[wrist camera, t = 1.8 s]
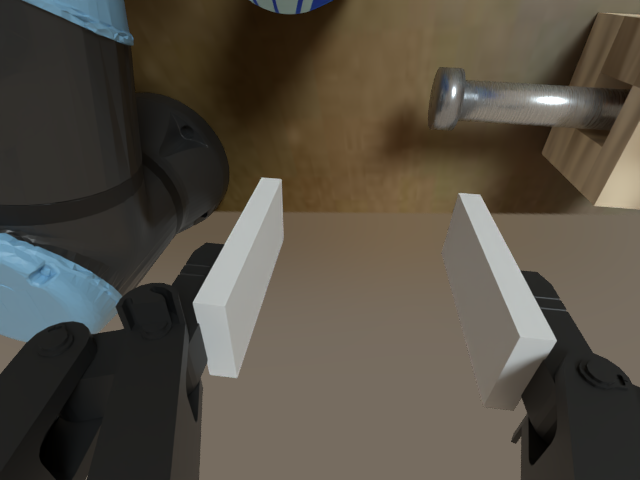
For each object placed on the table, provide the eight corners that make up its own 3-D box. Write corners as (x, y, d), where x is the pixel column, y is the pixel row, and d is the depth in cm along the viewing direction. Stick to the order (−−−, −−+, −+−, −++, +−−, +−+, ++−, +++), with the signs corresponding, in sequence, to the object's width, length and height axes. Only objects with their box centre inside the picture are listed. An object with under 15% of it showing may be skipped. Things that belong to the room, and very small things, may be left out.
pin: (425, 119, 32) (433, 137, 28) (437, 62, 30) (446, 73, 26) (611, 131, 31) (644, 151, 27) (640, 73, 28) (681, 86, 25)
